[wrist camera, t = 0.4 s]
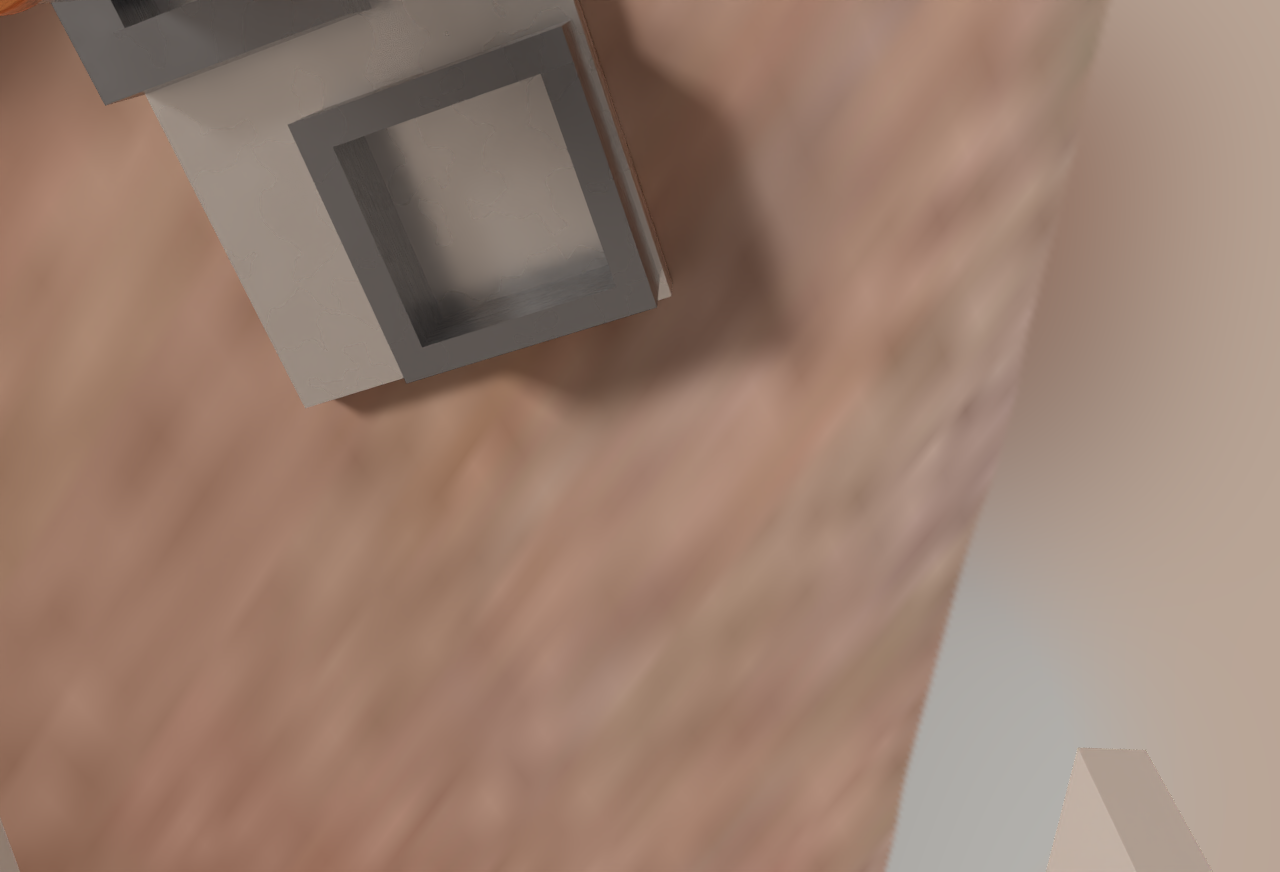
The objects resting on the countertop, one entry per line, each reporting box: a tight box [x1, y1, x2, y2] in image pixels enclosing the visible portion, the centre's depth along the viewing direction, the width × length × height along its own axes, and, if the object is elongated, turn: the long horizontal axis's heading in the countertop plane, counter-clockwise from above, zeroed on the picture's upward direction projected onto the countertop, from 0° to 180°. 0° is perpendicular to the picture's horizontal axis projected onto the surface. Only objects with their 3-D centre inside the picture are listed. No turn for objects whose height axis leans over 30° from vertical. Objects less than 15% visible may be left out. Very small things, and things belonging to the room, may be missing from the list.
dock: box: [51, 0, 673, 408], centre depth 32 cm, size 20×14×4 cm
